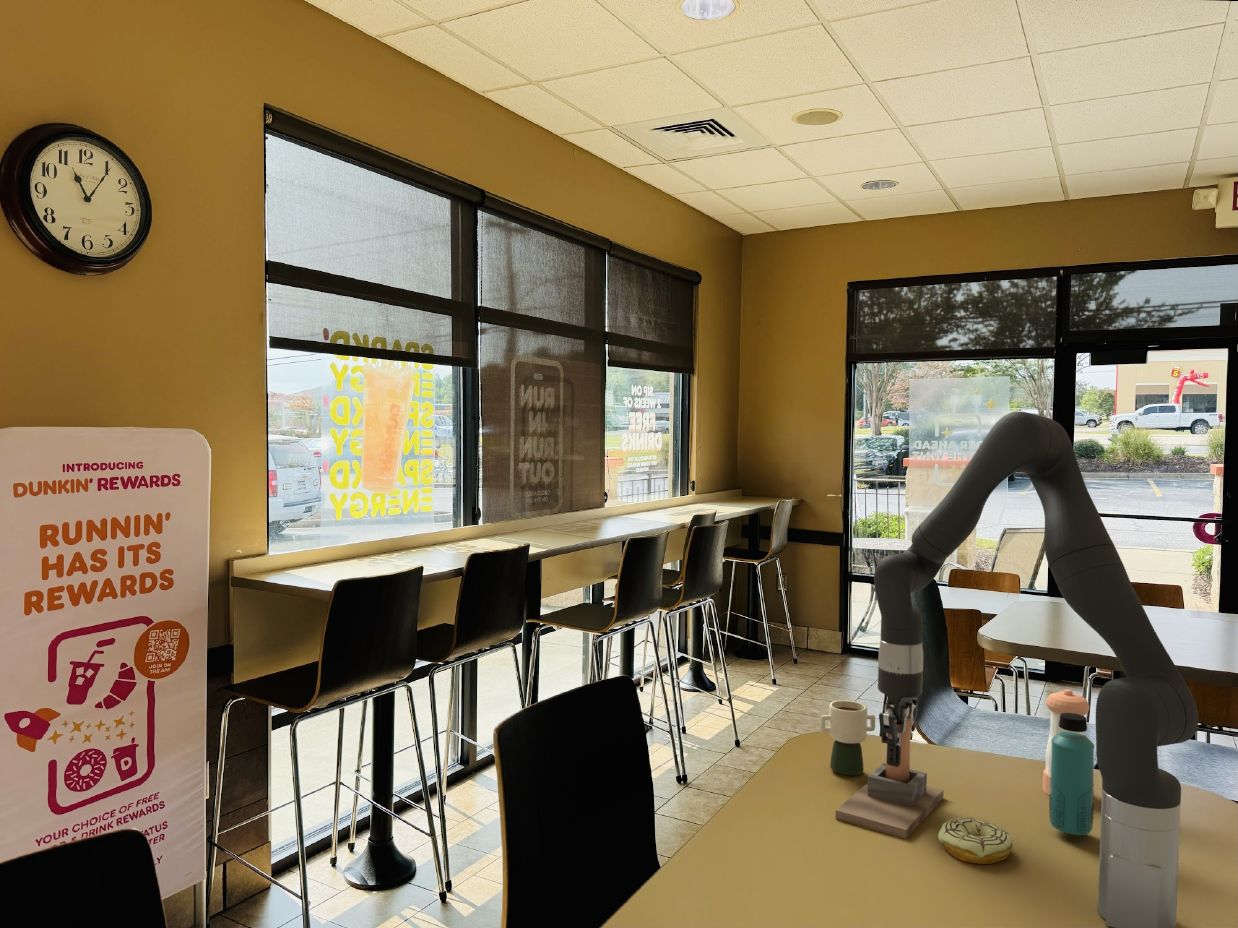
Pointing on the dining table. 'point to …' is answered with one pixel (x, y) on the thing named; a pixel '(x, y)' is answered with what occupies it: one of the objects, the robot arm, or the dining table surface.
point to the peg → (903, 769)
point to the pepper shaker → (1058, 705)
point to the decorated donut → (975, 840)
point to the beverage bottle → (1072, 777)
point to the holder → (891, 803)
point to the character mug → (847, 734)
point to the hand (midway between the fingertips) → (898, 760)
